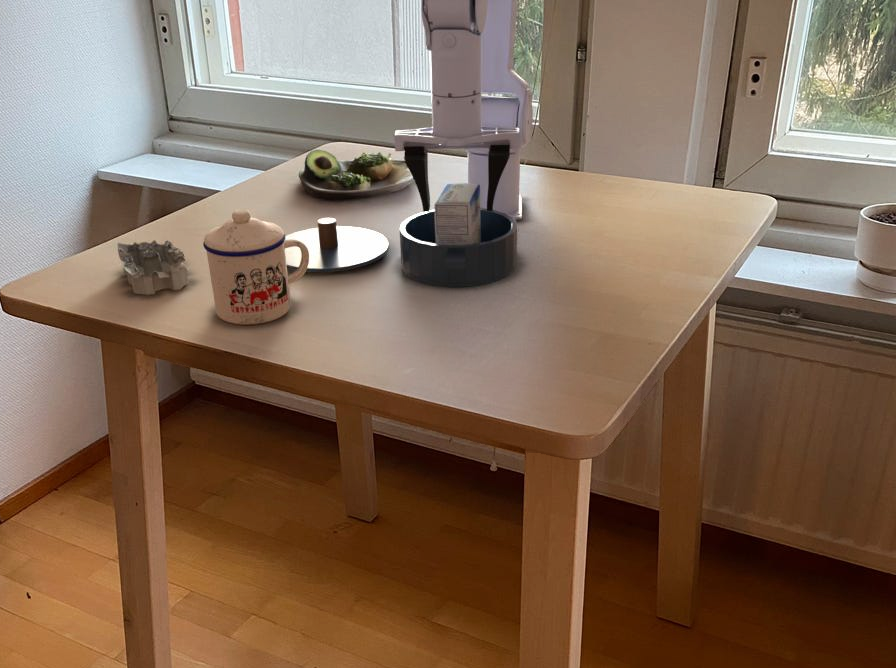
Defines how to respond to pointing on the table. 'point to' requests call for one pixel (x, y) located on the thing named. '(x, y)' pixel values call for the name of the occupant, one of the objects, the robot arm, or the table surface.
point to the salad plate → (352, 176)
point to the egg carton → (153, 266)
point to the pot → (459, 252)
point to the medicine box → (458, 215)
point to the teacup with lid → (251, 269)
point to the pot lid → (336, 247)
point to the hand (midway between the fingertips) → (458, 208)
